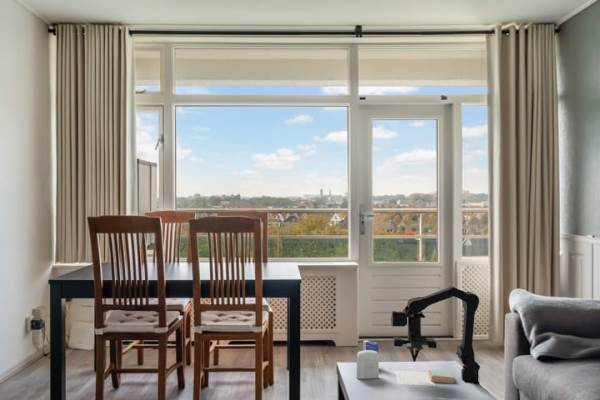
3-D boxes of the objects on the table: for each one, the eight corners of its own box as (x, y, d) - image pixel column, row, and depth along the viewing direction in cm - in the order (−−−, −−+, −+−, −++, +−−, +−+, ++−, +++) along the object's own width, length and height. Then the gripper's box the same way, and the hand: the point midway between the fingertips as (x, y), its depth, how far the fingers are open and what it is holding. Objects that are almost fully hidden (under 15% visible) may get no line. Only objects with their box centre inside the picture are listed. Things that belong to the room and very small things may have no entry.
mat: (429, 373, 208) (429, 372, 208) (435, 387, 192) (435, 385, 192) (394, 371, 210) (394, 370, 210) (398, 385, 194) (398, 383, 194)
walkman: (378, 367, 215) (378, 343, 215) (374, 369, 213) (374, 344, 214) (366, 363, 221) (366, 339, 221) (362, 364, 219) (362, 340, 220)
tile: (428, 375, 204) (450, 378, 203) (431, 381, 197) (454, 384, 196) (428, 369, 204) (450, 372, 203) (431, 375, 197) (454, 377, 196)
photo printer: (377, 375, 205) (377, 348, 206) (379, 378, 201) (380, 351, 201) (355, 376, 204) (355, 349, 204) (357, 379, 200) (358, 352, 200)
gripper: (395, 330, 195) (395, 366, 194) (439, 332, 193) (438, 368, 192) (392, 324, 206) (392, 358, 205) (434, 325, 204) (434, 360, 203)
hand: (414, 361), depth 201 cm, fingers closed
